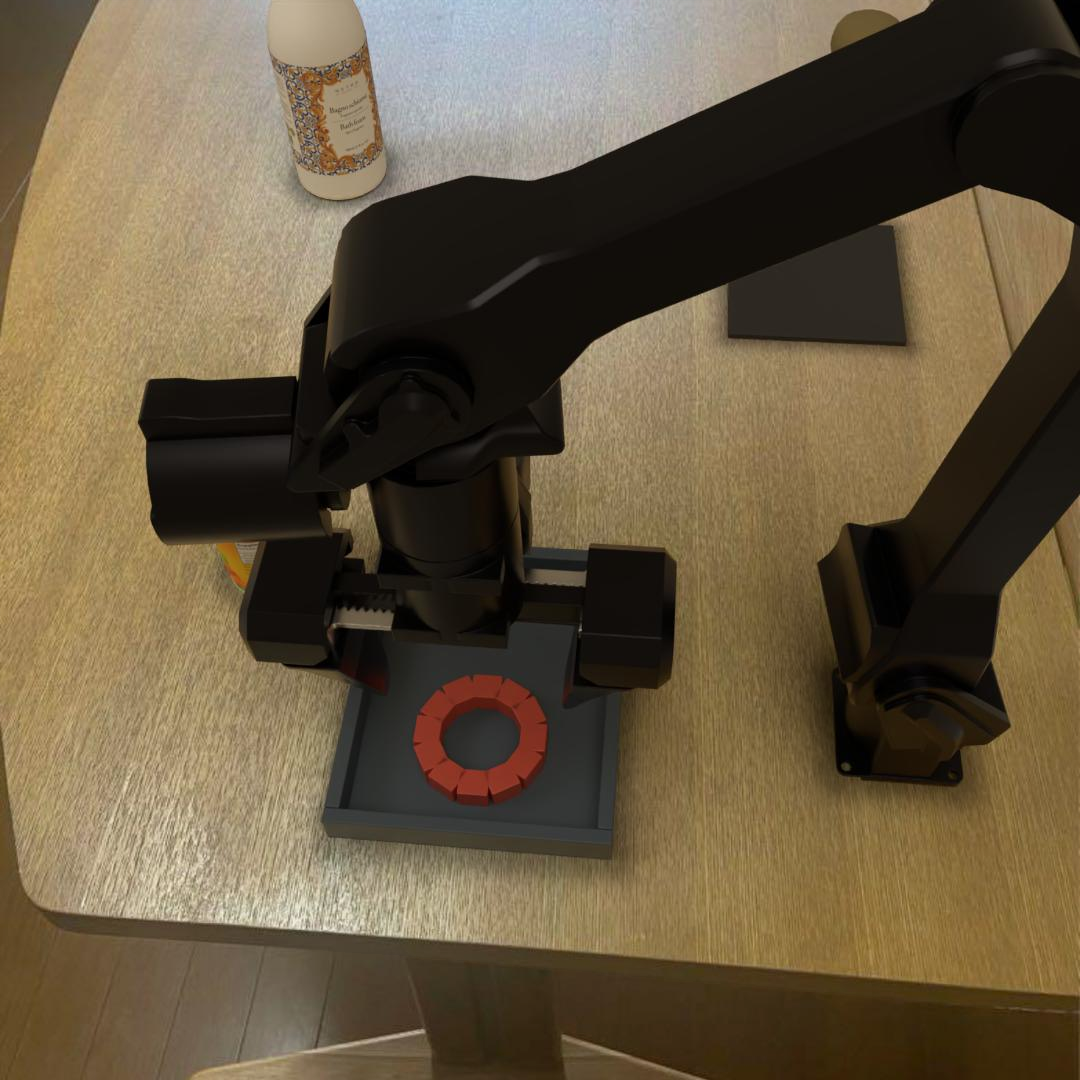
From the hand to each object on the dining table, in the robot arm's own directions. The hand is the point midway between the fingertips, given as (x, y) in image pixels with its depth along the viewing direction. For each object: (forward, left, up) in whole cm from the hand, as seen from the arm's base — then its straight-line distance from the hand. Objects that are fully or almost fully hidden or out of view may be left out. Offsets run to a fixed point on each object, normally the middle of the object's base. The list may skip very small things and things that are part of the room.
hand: (475, 693), depth 59 cm
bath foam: (+48, +17, -6) cm, 51 cm away
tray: (+3, 0, -6) cm, 7 cm away
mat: (+38, -19, -6) cm, 43 cm away
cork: (+53, -22, -6) cm, 58 cm away
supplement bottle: (+11, +14, -6) cm, 19 cm away
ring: (0, 0, -6) cm, 6 cm away
